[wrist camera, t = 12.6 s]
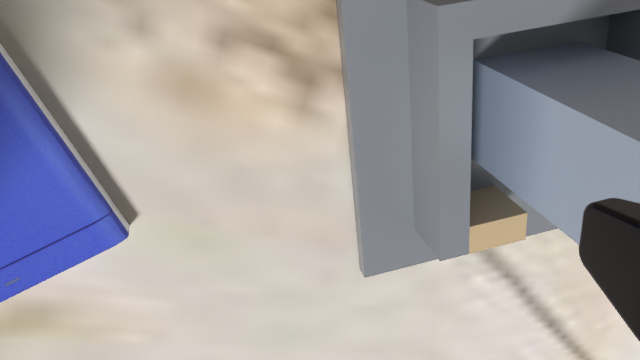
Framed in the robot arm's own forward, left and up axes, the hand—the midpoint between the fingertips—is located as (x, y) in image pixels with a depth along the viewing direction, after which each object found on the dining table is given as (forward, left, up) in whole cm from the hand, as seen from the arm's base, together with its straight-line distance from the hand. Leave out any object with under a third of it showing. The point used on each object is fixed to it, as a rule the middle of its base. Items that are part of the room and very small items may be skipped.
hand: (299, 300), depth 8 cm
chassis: (+12, 0, -13) cm, 18 cm away
